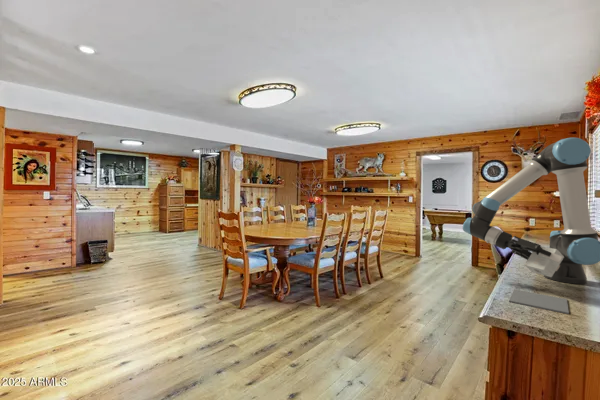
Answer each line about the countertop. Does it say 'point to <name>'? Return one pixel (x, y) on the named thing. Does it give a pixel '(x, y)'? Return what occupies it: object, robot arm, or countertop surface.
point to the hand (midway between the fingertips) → (559, 264)
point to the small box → (543, 263)
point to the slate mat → (540, 301)
